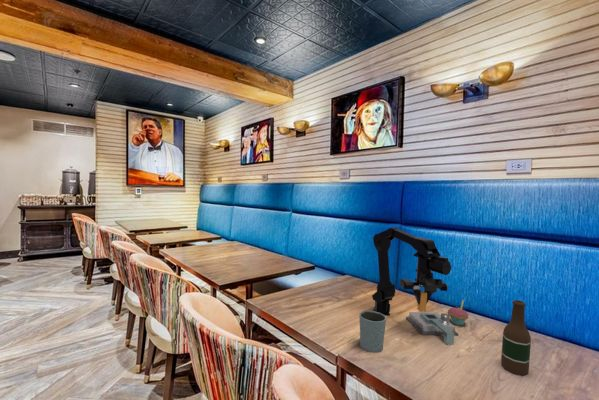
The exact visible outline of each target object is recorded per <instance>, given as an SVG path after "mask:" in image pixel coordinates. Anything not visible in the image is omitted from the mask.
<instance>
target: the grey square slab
mask: <svg viewBox="0 0 599 400" xmlns="http://www.w3.org/2000/svg"><path fill="white" fill-rule="evenodd" d="M405 318H406V320H407V321H408V322H409V323H410V324H411V325H412V326H413V327H414V329H416V331H417V332H418V333H420V335H422V336H424V335H425V336H443V343H444V344H445V345H446V344H453V345H454V344H455V337H456V336H459V333H458V332H456V326H455V324H453V323H452V322H450V320H451V317H450V315H449V314H448V313H445V312H443V313H439V312H427V311H426V312H421V311H409V313H408V316H405Z"/></svg>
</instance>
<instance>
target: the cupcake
mask: <svg viewBox="0 0 599 400" xmlns="http://www.w3.org/2000/svg"><path fill="white" fill-rule="evenodd" d="M464 302H465V299H462V301H461V305H460V307H451V308H449V309H448V310H447V314H448V315H449V316H450V320H451V324H453V325H454V326H455V325H456V326H460V327H461V326H464V323H465V321H466V320H468V319H469V313H467V311H466V310H465V309H463V306H464Z"/></svg>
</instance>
